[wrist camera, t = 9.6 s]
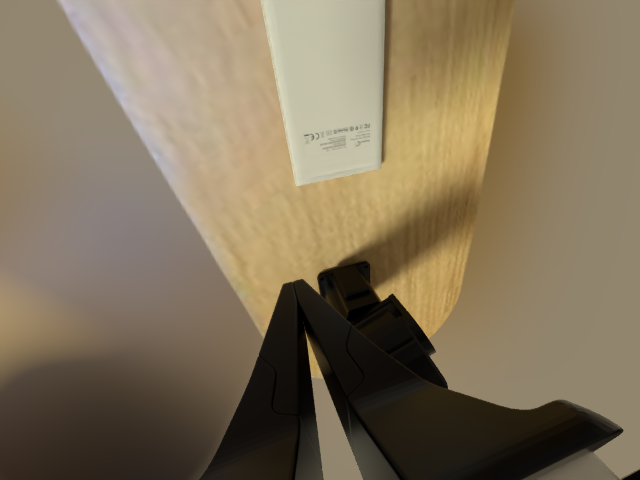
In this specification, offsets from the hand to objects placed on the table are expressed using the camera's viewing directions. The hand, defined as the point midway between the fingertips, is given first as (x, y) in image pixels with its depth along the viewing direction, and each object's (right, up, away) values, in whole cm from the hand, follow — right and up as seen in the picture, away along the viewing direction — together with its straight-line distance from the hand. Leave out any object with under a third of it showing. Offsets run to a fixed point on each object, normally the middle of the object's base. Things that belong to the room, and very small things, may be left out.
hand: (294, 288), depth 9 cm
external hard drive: (+2, +14, +9) cm, 17 cm away
